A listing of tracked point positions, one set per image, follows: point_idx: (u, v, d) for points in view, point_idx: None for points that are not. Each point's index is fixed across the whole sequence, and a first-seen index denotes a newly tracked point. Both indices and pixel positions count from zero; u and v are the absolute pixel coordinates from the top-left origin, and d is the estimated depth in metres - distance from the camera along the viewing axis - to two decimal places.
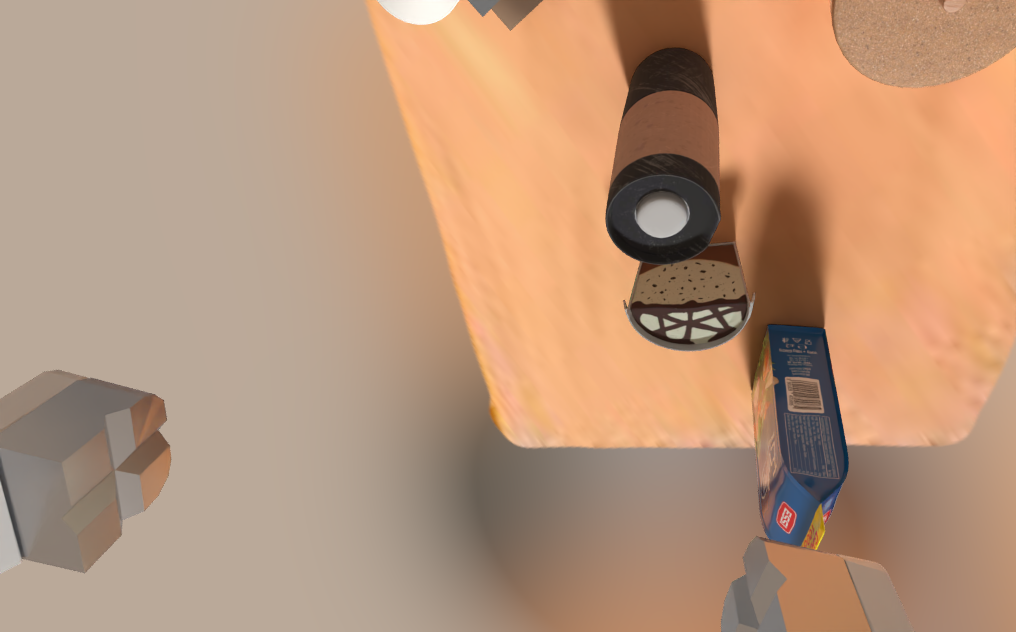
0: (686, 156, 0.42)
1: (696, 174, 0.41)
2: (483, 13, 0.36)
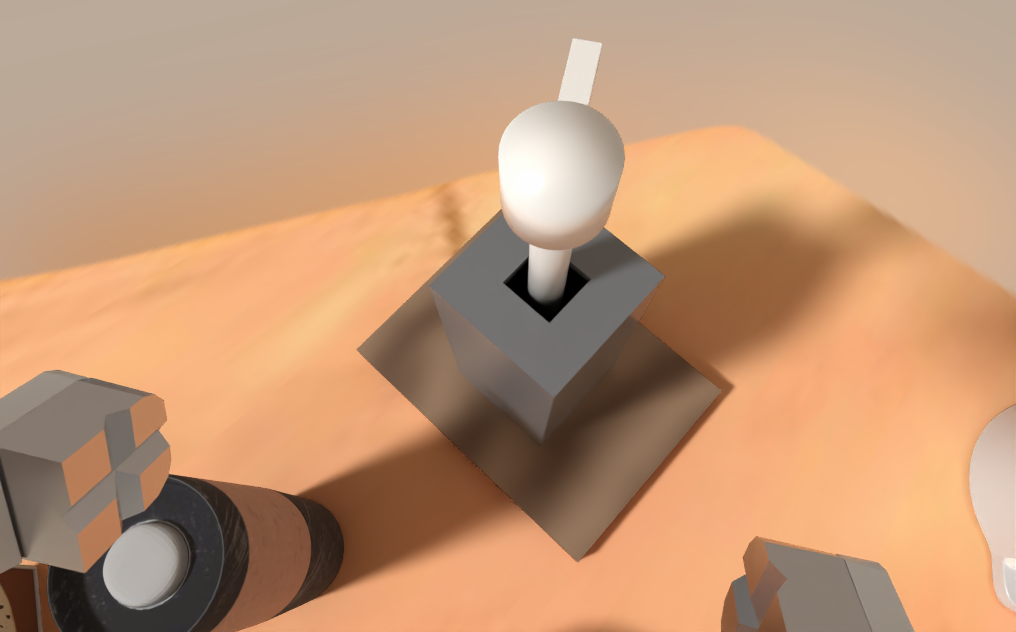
0: (244, 579, 0.29)
1: (222, 601, 0.27)
2: (432, 286, 0.31)
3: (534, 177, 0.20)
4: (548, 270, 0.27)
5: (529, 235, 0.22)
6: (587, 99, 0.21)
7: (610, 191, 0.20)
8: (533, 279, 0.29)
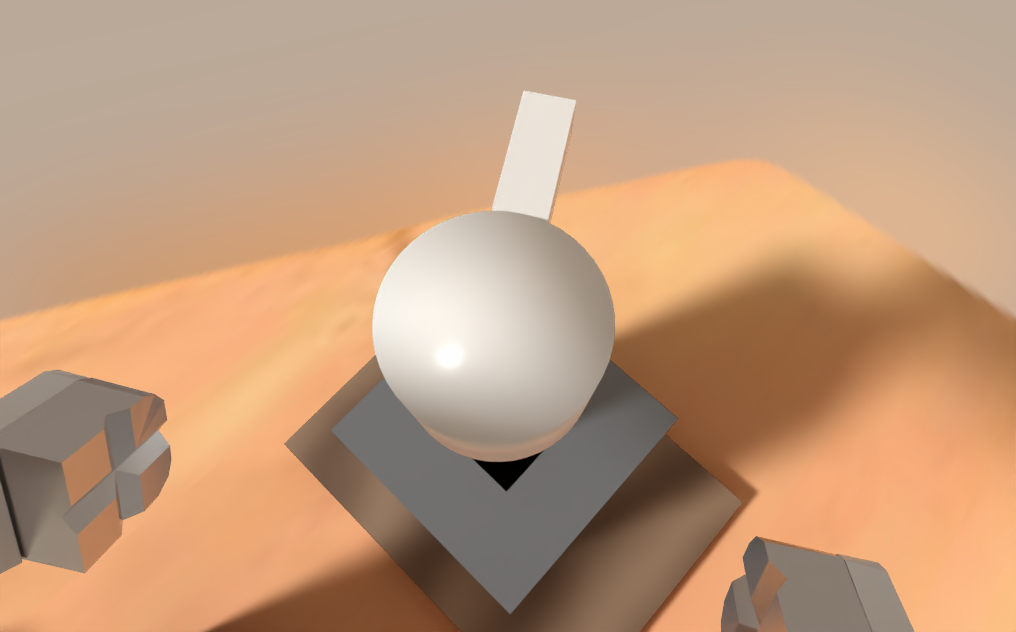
0: None
1: None
2: (336, 431, 0.21)
3: (439, 369, 0.10)
4: None
5: (445, 444, 0.12)
6: (546, 207, 0.11)
7: (586, 399, 0.10)
8: None
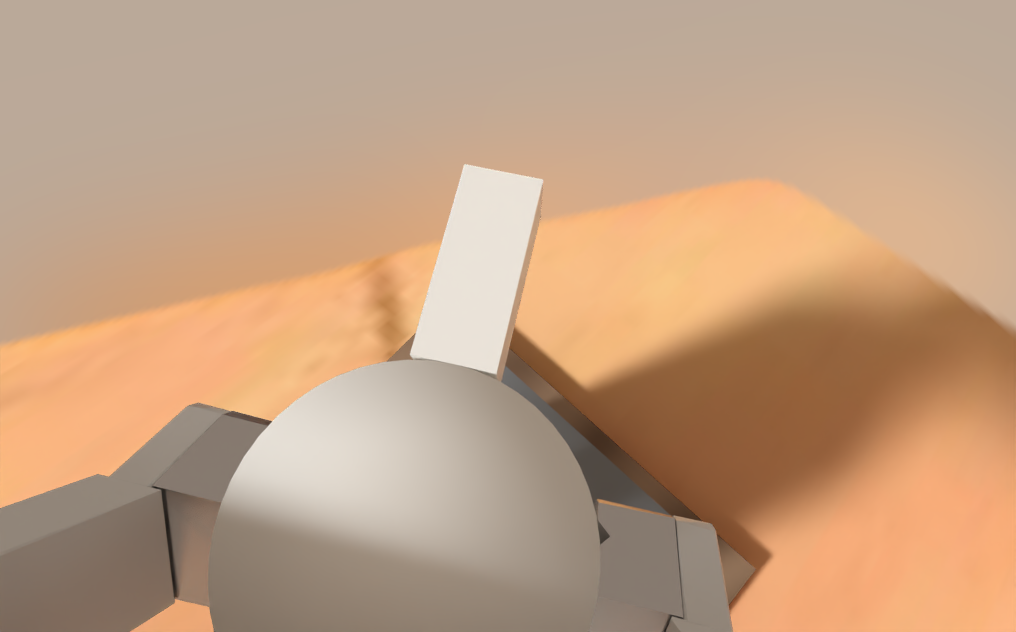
0: None
1: None
2: None
3: None
4: None
5: None
6: (494, 354, 0.07)
7: None
8: None
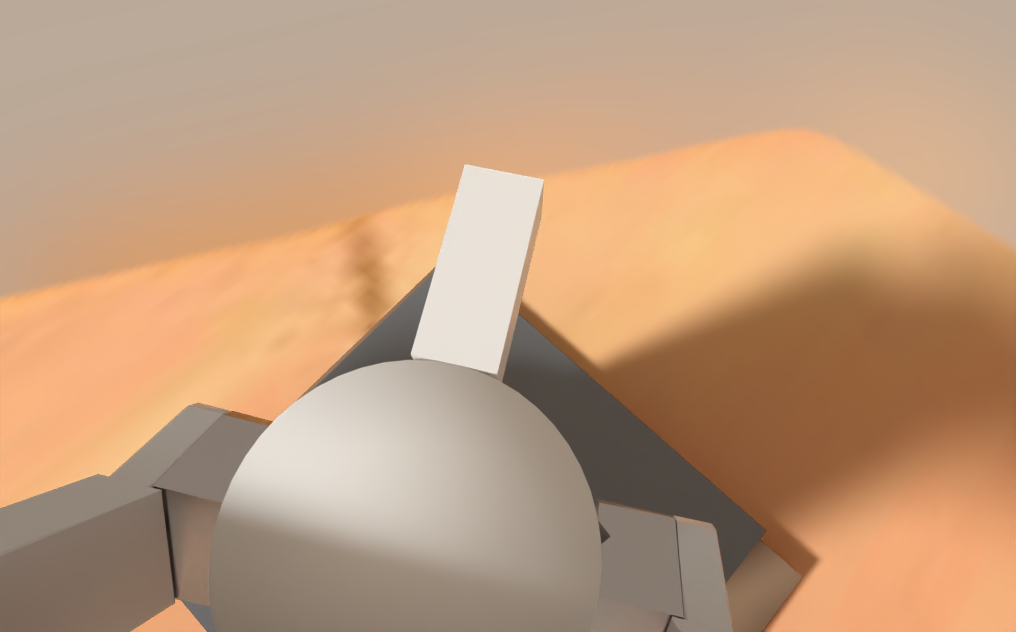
0: None
1: None
2: None
3: None
4: None
5: None
6: (495, 355, 0.07)
7: None
8: None
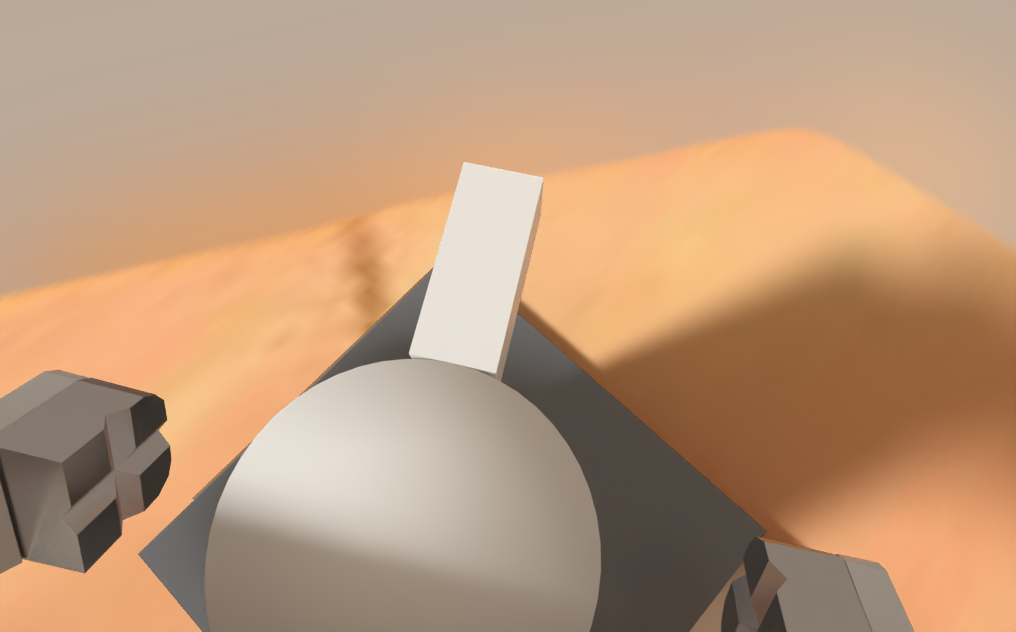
0: None
1: None
2: (148, 556, 0.12)
3: None
4: None
5: None
6: (494, 353, 0.07)
7: None
8: None
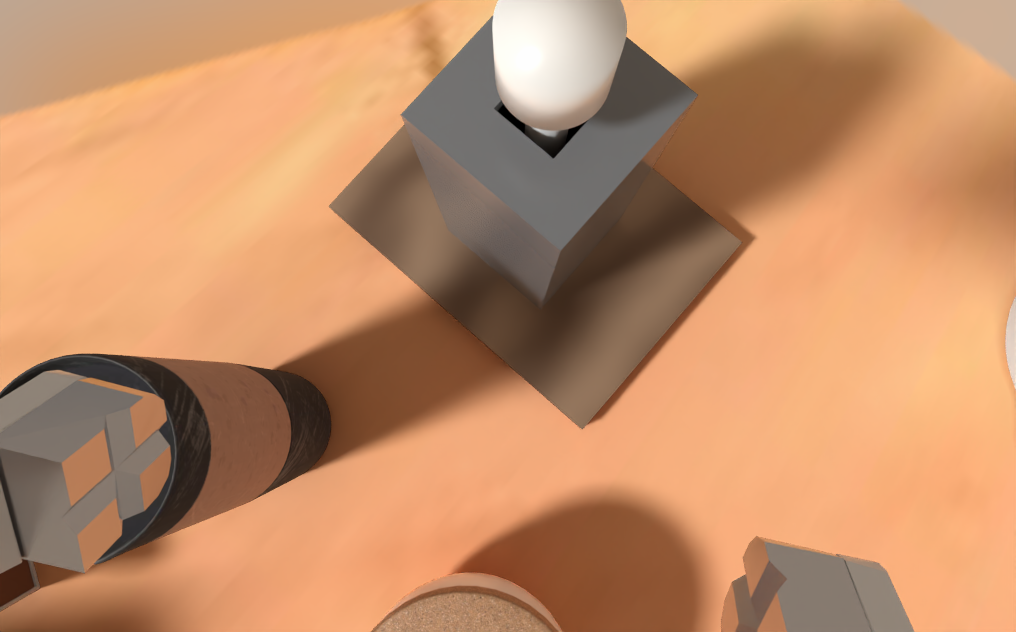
0: (208, 468, 0.25)
1: (182, 495, 0.24)
2: (405, 115, 0.25)
3: (531, 53, 0.19)
4: (545, 148, 0.27)
5: (526, 116, 0.21)
6: None
7: (611, 67, 0.19)
8: None
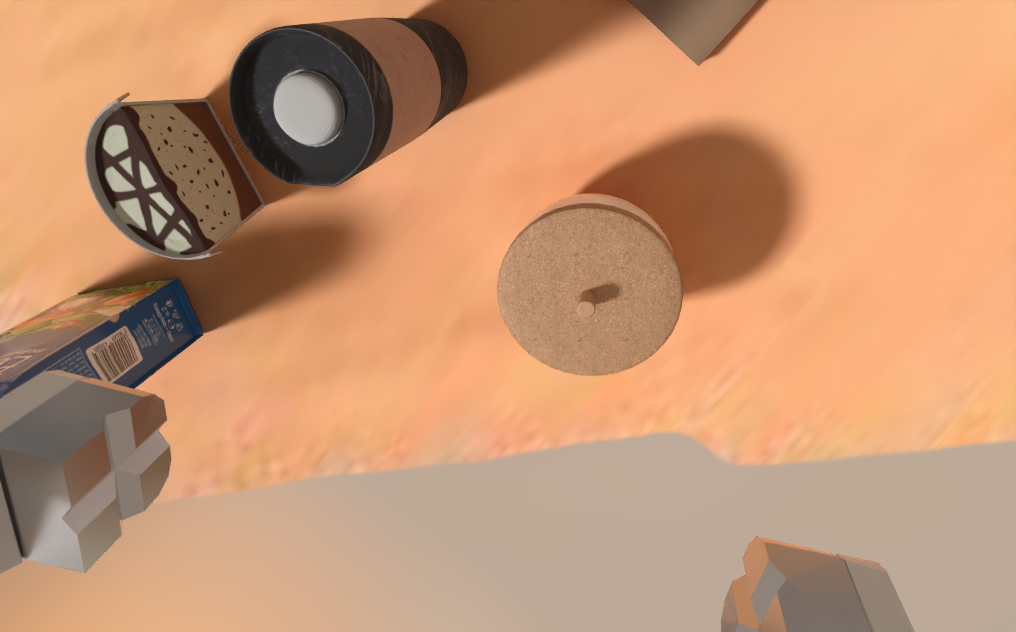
0: (393, 116, 0.33)
1: (380, 137, 0.32)
2: None
3: None
4: None
5: None
6: None
7: None
8: None
